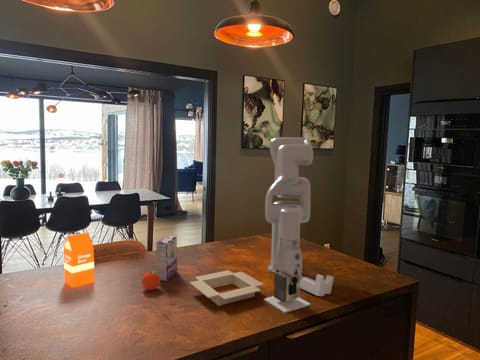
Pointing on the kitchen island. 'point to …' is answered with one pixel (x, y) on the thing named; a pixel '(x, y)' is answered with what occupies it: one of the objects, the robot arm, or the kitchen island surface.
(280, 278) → the birch box
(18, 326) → the kitchen island surface
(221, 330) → the kitchen island surface
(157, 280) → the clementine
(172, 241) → the candy bar box
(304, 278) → the bracket
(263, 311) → the kitchen island surface
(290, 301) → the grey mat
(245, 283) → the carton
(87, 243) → the orange juice
